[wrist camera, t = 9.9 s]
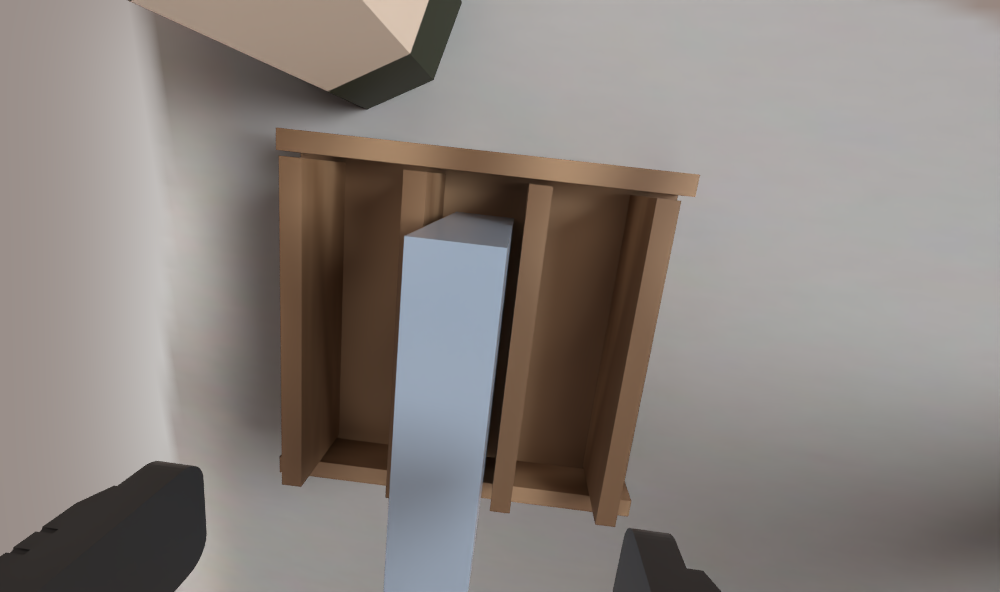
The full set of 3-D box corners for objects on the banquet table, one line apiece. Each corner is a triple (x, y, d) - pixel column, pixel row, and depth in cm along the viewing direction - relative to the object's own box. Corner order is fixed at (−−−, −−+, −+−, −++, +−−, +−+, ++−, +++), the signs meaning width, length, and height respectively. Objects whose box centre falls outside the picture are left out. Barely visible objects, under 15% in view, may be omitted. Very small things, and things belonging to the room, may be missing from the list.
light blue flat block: (514, 218, 20) (507, 248, 11) (487, 444, 22) (465, 612, 14) (456, 211, 20) (404, 235, 11) (437, 438, 23) (383, 600, 14)
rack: (672, 175, 20) (722, 174, 15) (614, 472, 24) (638, 551, 19) (313, 135, 20) (244, 120, 15) (311, 434, 24) (255, 501, 19)
